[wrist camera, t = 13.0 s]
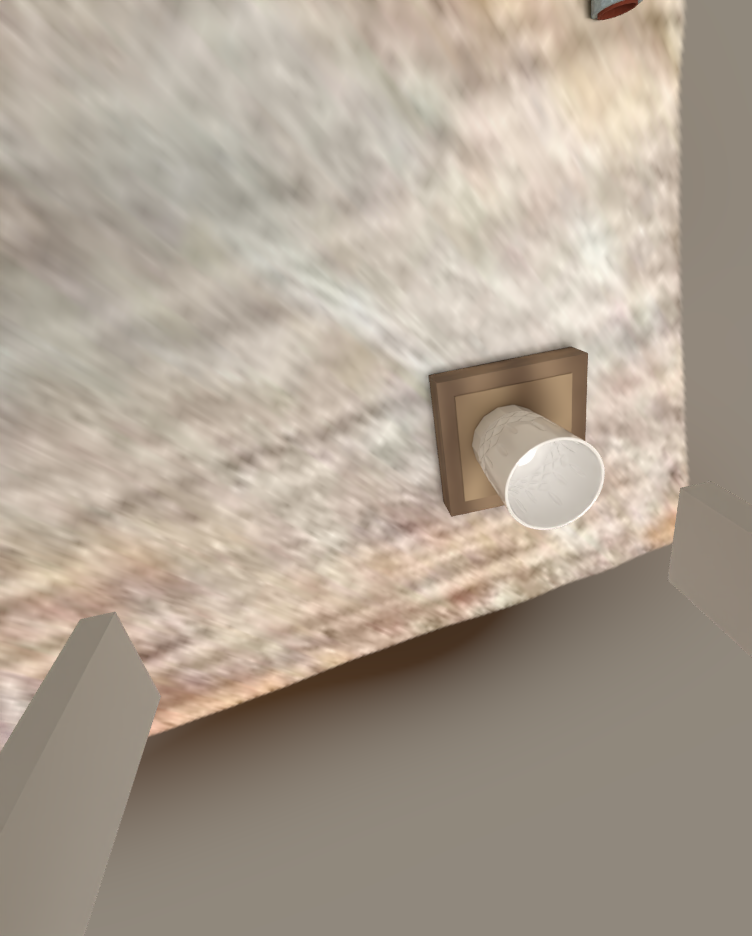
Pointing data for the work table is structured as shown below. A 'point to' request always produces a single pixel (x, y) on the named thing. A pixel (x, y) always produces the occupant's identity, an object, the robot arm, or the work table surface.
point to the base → (491, 386)
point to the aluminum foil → (611, 8)
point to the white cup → (537, 467)
